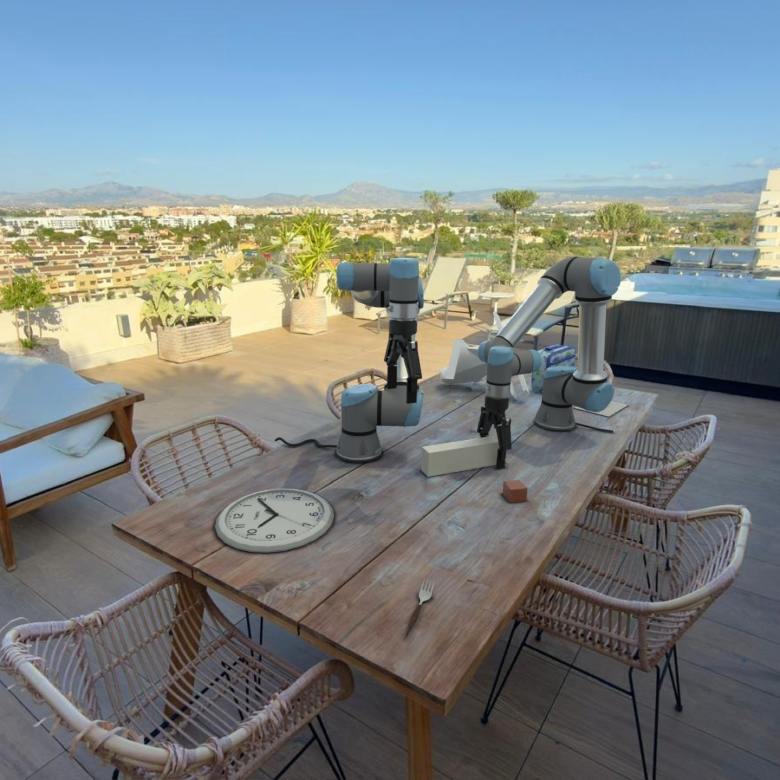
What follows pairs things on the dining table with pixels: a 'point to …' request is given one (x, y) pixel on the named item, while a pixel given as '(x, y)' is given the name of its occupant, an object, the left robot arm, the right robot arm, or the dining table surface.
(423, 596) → the fork
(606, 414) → the invitation card
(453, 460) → the beam
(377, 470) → the dining table surface
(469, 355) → the white plastic object
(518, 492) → the terracotta block
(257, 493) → the wall clock
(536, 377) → the lunch box
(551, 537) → the dining table surface
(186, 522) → the dining table surface
